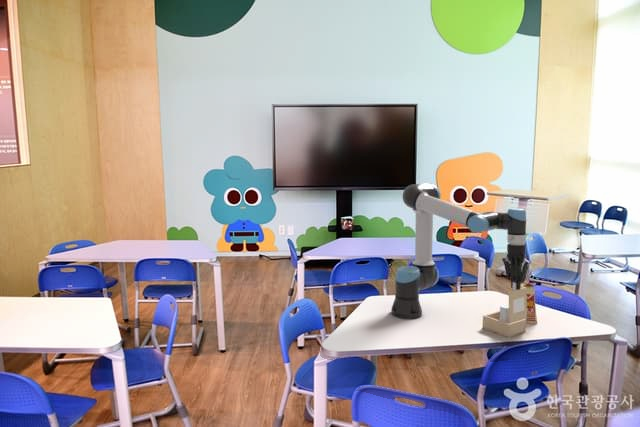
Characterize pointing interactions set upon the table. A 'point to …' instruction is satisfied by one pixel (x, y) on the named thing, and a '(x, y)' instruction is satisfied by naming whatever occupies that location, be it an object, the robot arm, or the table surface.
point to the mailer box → (503, 323)
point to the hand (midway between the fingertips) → (515, 296)
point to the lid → (517, 305)
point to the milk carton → (530, 302)
